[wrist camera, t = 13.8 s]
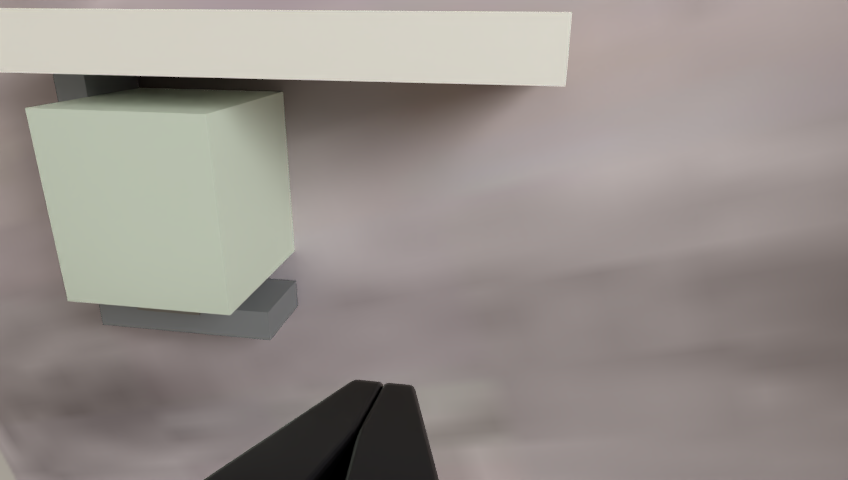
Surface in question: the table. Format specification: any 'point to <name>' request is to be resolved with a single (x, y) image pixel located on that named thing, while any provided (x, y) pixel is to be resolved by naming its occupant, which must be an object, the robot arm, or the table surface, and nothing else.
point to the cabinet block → (166, 195)
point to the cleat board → (275, 77)
